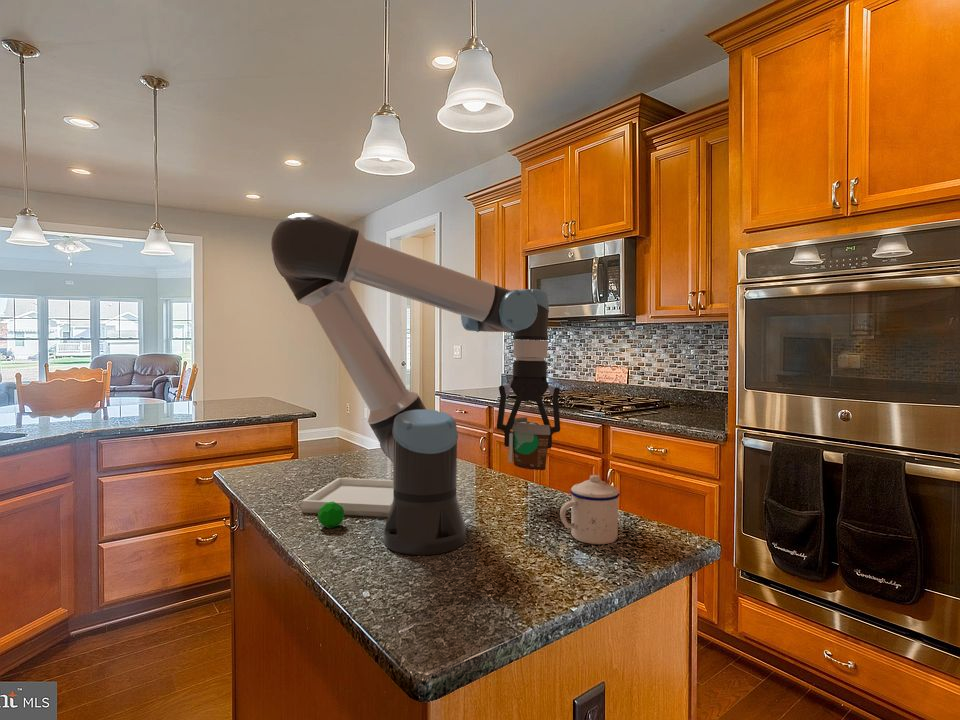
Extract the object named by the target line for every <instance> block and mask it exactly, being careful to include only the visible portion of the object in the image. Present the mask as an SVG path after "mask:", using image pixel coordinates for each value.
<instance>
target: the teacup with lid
mask: <svg viewBox="0 0 960 720" xmlns="http://www.w3.org/2000/svg"><path fill="white" fill-rule="evenodd" d="M570 494H571V500H570V501H569V500H568V501H566V502H565V503H563V504H562V505H561V507H560V511H559V517H560V521H561V522H562V524H563V525H564V526H565V527H567V528H569V529H570V533H571V534H570V535H571V536H572V537H573V538H574V539H575V540H577V541H579V542H581V543H585V544H590V545H606V544H612V543H615V541H616V540H617V539H618V536H619V535H618V533H619V532H618V529H619V528H618V527H619V497H620V491H619V489H618V488H617V487H616V486H613V485H611V484H608V483H607V482H606V481H603V480H601V476H600V475H599V474H591V475H590V476H589V479H586V480H584V481H583V482H580V483H576V484H573V486H572V487H571V489H570ZM570 507H571V508H570ZM569 508H570V509H571V510H570V511H571V512H570V513H571V514H570V515H571V516H570V517H571V520H570V522H571V523H569V522H568V519H567V517H566V513H567V511H568V509H569Z"/></svg>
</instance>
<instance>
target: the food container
mask: <svg viewBox="0 0 960 720" xmlns="http://www.w3.org/2000/svg"><path fill="white" fill-rule="evenodd" d="M550 425H551V424H550ZM550 425H544V424H539V423H538V422H531V421H528V417H527V416H523V417H515V419H514V422H513V424H512V426H511V430H510V431H512V432H513V465H514V467H517V468H521V469H526V470H534V471H546V466H547V457H548V449H547V448H548V438H549V435H550Z"/></svg>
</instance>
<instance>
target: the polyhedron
mask: <svg viewBox="0 0 960 720" xmlns="http://www.w3.org/2000/svg"><path fill="white" fill-rule="evenodd" d="M344 517H345V515H344V510H343V507H342V506H340V505H338V504H337V503H335V502H328V503H326V504H325V505H324V506H322V507H321V508H320V510H319V513H317V519H318V522H319V524H321V525H323V526H324V527H325V528H328V529H333V528H334V527H335V528H336V527H338V526H339V525H340V524H341V523H342V522H343V520H344Z"/></svg>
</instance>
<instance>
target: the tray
mask: <svg viewBox="0 0 960 720" xmlns="http://www.w3.org/2000/svg"><path fill="white" fill-rule="evenodd" d="M328 502H335V503H337V504H338V505H340V506H342V507H343V510H344V516H356V517H357V516H358V517H359V516H360V517H361V516H362V517H377V518H378V517H379V518H380V517H381V518H388V515H389V512H390V508H391V505H392V502H393V479H373V478H372V479H369V478H351V477H350V478H349V477H337V478H335V479H334V480H332V481H331V482H329V483H328V484H326V485H325V486H323V487H322V488H320V489H319V490H317V491H315V492H313V493H312V494H310V495H308V496H307V497H305V498H303V499H302V500H301V513H305V514H319V510H320V508H321V507H322V506H324V505H325V504H326V503H328Z"/></svg>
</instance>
